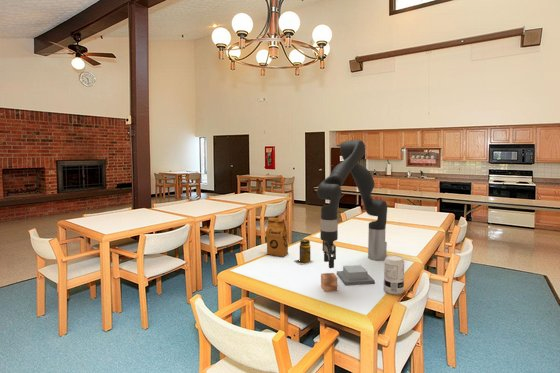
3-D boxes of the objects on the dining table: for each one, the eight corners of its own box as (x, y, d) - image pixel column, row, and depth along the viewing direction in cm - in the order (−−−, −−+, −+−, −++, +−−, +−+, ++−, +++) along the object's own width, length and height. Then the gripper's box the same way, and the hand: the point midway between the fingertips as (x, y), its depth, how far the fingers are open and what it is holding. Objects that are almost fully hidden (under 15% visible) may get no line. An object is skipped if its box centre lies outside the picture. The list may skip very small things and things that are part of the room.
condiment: (313, 262, 186) (313, 240, 185) (301, 265, 182) (301, 243, 180) (305, 258, 192) (305, 238, 191) (293, 261, 188) (293, 240, 186)
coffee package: (282, 258, 193) (281, 220, 191) (264, 255, 199) (263, 218, 197) (290, 253, 202) (290, 217, 199) (273, 250, 208) (272, 215, 205)
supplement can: (380, 287, 151) (381, 255, 149) (398, 287, 151) (399, 254, 150) (388, 295, 143) (388, 261, 141) (406, 294, 143) (407, 260, 141)
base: (363, 272, 169) (364, 263, 169) (374, 283, 155) (374, 273, 155) (336, 274, 168) (336, 264, 167) (345, 285, 154) (345, 274, 153)
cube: (333, 285, 154) (333, 272, 154) (337, 290, 148) (337, 277, 148) (320, 286, 154) (320, 273, 153) (324, 291, 148) (324, 278, 147)
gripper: (342, 232, 141) (341, 269, 143) (333, 225, 155) (332, 259, 157) (324, 233, 141) (324, 270, 142) (317, 225, 155) (317, 259, 156)
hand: (328, 264), depth 150 cm, fingers open, 8 cm apart
